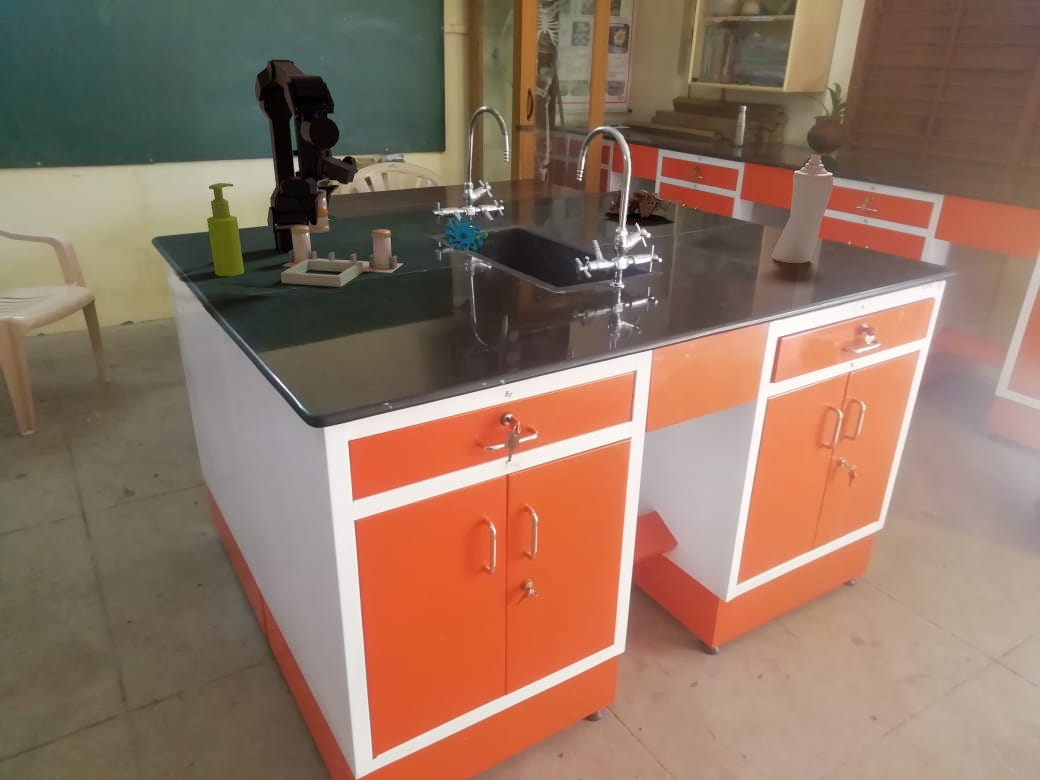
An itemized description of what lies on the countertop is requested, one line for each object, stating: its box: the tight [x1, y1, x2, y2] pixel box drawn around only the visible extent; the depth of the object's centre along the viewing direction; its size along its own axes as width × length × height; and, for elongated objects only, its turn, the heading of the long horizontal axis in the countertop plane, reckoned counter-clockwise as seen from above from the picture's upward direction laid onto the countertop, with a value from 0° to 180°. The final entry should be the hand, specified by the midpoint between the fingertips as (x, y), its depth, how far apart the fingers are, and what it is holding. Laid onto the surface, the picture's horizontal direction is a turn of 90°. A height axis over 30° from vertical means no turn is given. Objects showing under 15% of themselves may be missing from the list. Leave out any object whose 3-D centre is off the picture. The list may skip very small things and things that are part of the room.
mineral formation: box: [608, 188, 683, 218], centre depth 232 cm, size 23×16×10 cm
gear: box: [444, 216, 489, 252], centre depth 193 cm, size 11×6×10 cm
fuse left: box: [291, 225, 312, 264], centre depth 172 cm, size 4×4×8 cm
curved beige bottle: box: [771, 153, 834, 264], centre depth 181 cm, size 12×11×25 cm
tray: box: [280, 259, 364, 295], centre depth 162 cm, size 13×12×4 cm
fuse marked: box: [309, 190, 330, 234], centre depth 157 cm, size 4×4×8 cm
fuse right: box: [371, 228, 392, 270], centre depth 169 cm, size 4×4×8 cm
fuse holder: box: [281, 250, 404, 274], centre depth 172 cm, size 26×8×4 cm, turn 79°
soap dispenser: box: [206, 182, 245, 277], centre depth 162 cm, size 6×7×20 cm
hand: (318, 223), depth 158 cm, fingers closed on fuse marked, 4 cm apart
